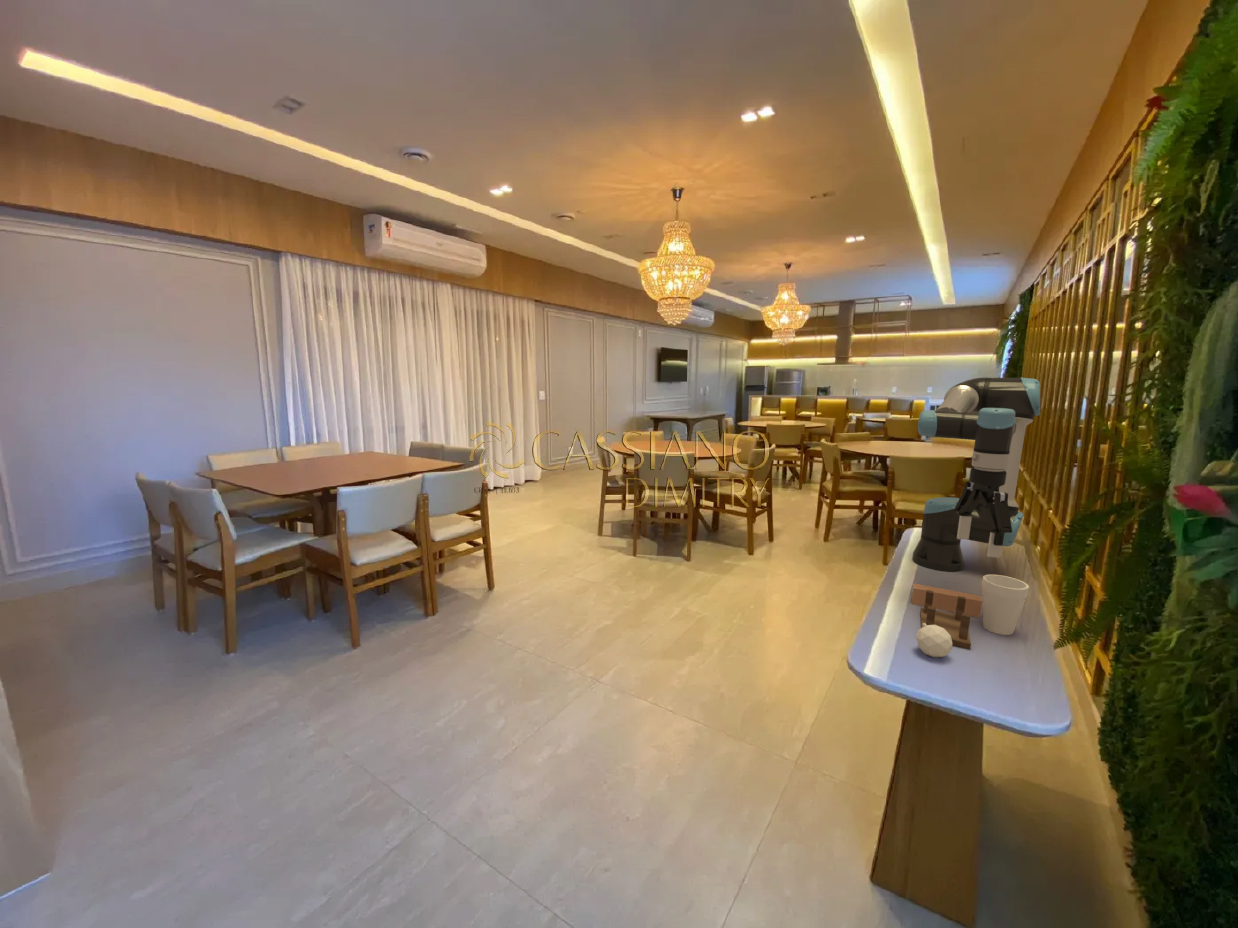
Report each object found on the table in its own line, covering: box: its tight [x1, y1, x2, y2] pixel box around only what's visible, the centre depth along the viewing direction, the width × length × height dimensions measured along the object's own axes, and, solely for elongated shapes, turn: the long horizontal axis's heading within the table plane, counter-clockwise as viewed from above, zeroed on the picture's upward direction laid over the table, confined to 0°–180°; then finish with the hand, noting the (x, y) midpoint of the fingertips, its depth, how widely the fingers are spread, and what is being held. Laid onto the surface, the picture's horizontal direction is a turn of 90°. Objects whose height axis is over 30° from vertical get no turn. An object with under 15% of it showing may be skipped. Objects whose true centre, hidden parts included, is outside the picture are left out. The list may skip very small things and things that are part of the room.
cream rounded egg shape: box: [915, 623, 953, 658], centre depth 117 cm, size 7×7×8 cm
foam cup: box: [981, 574, 1030, 636], centre depth 128 cm, size 10×9×13 cm
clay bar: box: [911, 583, 983, 618], centre depth 141 cm, size 16×4×5 cm, turn 60°
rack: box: [919, 590, 972, 651], centre depth 128 cm, size 16×10×8 cm, turn 150°
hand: (977, 547), depth 132 cm, fingers open, 13 cm apart
